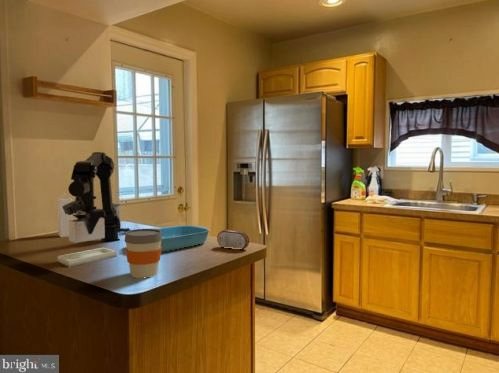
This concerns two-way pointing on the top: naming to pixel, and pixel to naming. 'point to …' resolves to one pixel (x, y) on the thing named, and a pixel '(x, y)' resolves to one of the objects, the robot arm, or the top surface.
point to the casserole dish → (182, 236)
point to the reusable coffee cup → (143, 251)
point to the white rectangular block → (85, 230)
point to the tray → (86, 256)
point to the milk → (63, 216)
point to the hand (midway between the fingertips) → (87, 233)
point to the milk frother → (117, 208)
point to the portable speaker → (233, 239)
